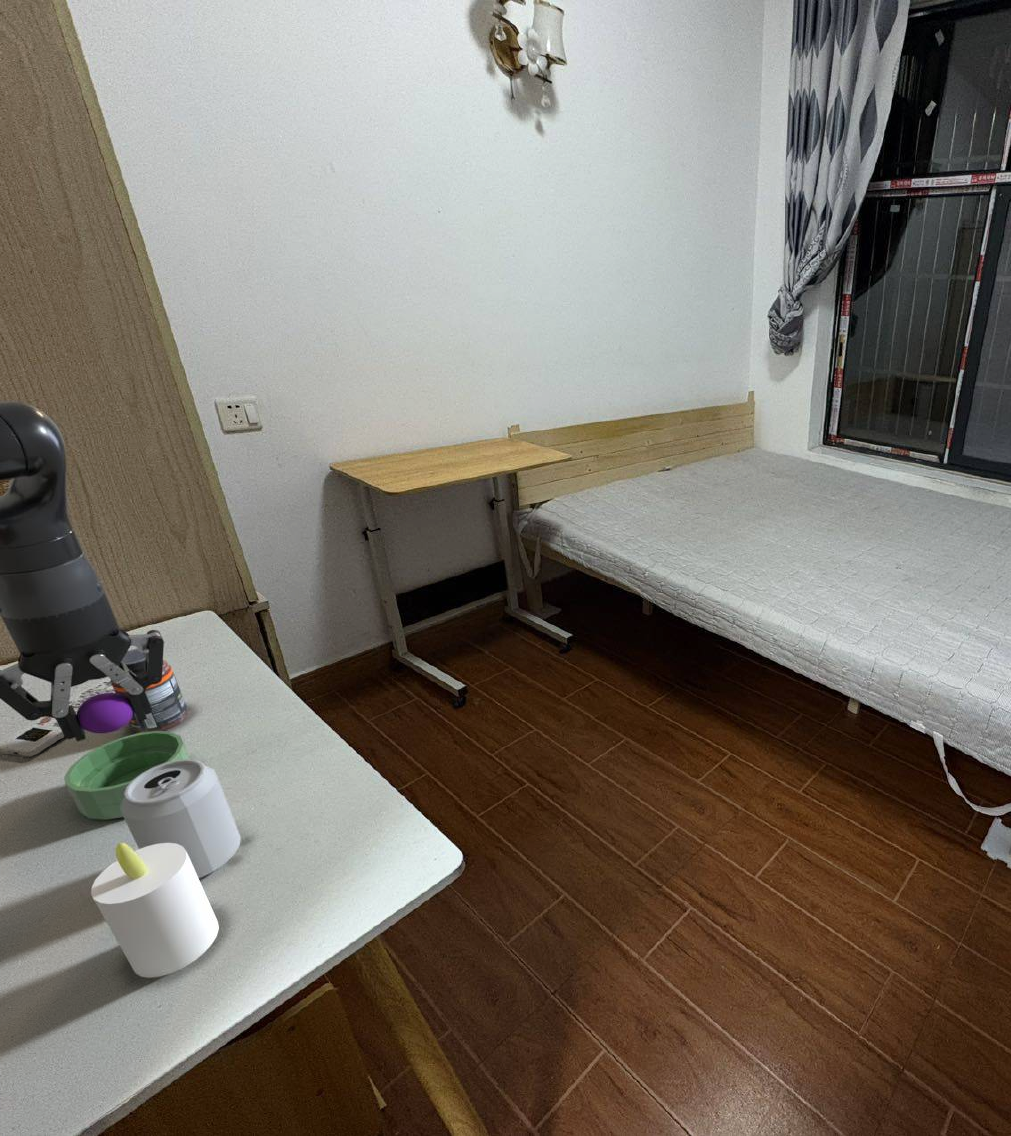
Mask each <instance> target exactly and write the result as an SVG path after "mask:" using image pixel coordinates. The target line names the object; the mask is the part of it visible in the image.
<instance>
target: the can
mask: <svg viewBox="0 0 1011 1136" xmlns="http://www.w3.org/2000/svg"><path fill="white" fill-rule="evenodd" d="M124 797H125V798H124V799H123V801H122V803H121V806H120V809H121V812H122V815H123V817H122V818H123V819H124V822H125V823H126V825H127V828H128V829H129V831H130V833H131V835H132V837H133V839H134V842H135V844H136V845H137V847H138V849H141V848H144V847H146V846H150V845H154V844H160V843H175V844H179V845H181V846H183V847H184V849H185V850H186V851H187V854H188V856H189V858H190V860H191V863H192V865H193V867H194V869H195V872H196V874H197V876H198V878H199V879H202V878H204V877H206V876H207V875H210V874H211V873H213V872H215V871H216V870H217V869H219V868H220V867H222V866H223V865H225V864H226V863H227V862H228V861H229V860H230V859H231V858H232V857H234V855H235V854H236V852H238V851H237V850H238V849H239V848H240V846H241V840H242V837H241V834H240V831H239V829H238V827H237V824H236V821H235V819H234V816H233V813H232V811H231V808H230V806H229V805H230V804H229V803H228V801H227V798H226V794H225V793H224V790H223V787H222V785H221V782H220V780H219V777H218V775H217V773H216V771H215V769H213V768H211V767H210V766H207V765H205V764H204V762H202V761H200V760H198V759H193V758H192V759H191V758H190V759H182V760H175V761H171V762H166V763H163V764H161V765H158V766H155V767H153V768H151V769H149V770H147V771H145V772H143V773H142V774H140V775H139V776H138V777H136V778H135V779H134V780H132V781H131V783H130V784H129V785H128V786H127V787H126V789H125V792H124Z"/></svg>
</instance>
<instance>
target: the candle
mask: <svg viewBox="0 0 1011 1136" xmlns="http://www.w3.org/2000/svg"><path fill="white" fill-rule="evenodd" d="M115 856H116V861H114V862H112V863H111V864H110V865H109V866H107V867H106V868H105V869H104V870H103V871H102V872H101V873H100V874H99V875H98V876H97V877H96V878H95V880H94V882H93V883H92V886H91V889H90V895H91V897H92V899H93V901H94V902H95V904H96V906H97V908H98V909H99V912H100V913H101V915H102V916H103V918H104V920H105V922H106V924H107V925H108V927H109V928H110V931H111V932H112V935H113V937H114V938H115V940H116V941H117V943H118V945H119V947H120V949H121V950H122V952H123V954H124V956H125V958H126V959H127V961H128V963H129V964H130V966H131V968H132V970H133V972H134V973H135V975H137V976H139V977H141V978H147V979H153V978H161V977H164V976H168V975H171V974H173V973H176V972H177V971H179V970H181V969H184V968H185V967H187V966H188V965H190V964H191V963H193V962H195V961H197V959H199V957H201V956H202V955H204V953H205V952H206V951H207V950H208V949H210V947H211V946H212V945H213V943H214V941H215V940H216V939H217V936H218V933H219V930H220V927H219V922H218V919H217V917H216V914H215V912H214V910H213V908H212V906H211V903H210V901H209V898H208V897H207V893H206V892H205V890H204V887H203V885H202V882H201V881H200V878H198V876H197V874H196V872H195V869H194V867H193V865H192V863H191V860H190V858H189V856H188V854H187V851H186V850H185V849H184V847H183V846H181V845H179V844H175V843H160V844H154V845H150V846H146V847H144V848H141V849H139V848H138V849H136V850H133V849H132V847H130V845H128V844H127V843H124V842H119V843H118V844H117V845H116V848H115Z"/></svg>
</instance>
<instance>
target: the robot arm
mask: <svg viewBox="0 0 1011 1136" xmlns="http://www.w3.org/2000/svg"><path fill="white" fill-rule="evenodd" d="M7 480H11V482H10V484H9V487H8V489H7V491H6V492H5V493H3V494H2V495H1V496H0V618H2V621H3V623H4V625H5V627H6V629H7V631H8V633H9V635H10V637H11V639H12V640H13V643H14V644H15V646H16V649H17V651H18V652H19V657H18V659H17V663H15V664H13V665H11V666H9V667H6V668H4V669H2V670H1V669H0V700H1V701H3V702H4V703H5V704H6V705H8V706H9V707H10V708H11V709H12V710H14V711H15V712H16V713H18V714H19V715H21V717H23V718H24V719H25V720H27V721H30V722H31V721H37V720H39V719H41V718H47V717H48V718H53V719H55V721H56V723H57V725H58V726H59V729H60V730H61V732H62V734H63V736H64V737H65V738H66V739H68V740H72V739H75V740H76V742H81V741H84V740H86V739H87V735H86V732H85V731H86V730H84V729H83V728H82V727H81V726H80V725H79V723H78V720H77V717H76V716H77V712H76V710H75V708H74V706H73V705H72V704H70V699H71V690H72V688H73V687H76V686H80V685H82V684H84V683H87V682H89V681H94V680H101V679H105V678H109V679H110V681H111V680H113V681H114V682H115V683H116V684H119V685H120V686H121V687H123V688H124V689H125V690H126V691H127V694H128V697H129V699H130V702H131V704H132V706H133V708H134V711H135V713H136V715H137V718H138V720H139V721H142V720H145V719H147V717H146V714H149V713H151V711H152V708H151V705H150V702H149V700H148V698H147V695H146V693H145V690H146V688H147V687H148V686H150V685H152V684H157V683H159V682H161V680H162V667H163V660H164V649H165V648H164V647H165V641H164V638H163V636H162V634H161V631H160V630H157V629H151V630H148V631H147V632H146V633H141V634H129V633H128V632H127V631H125V630H123V629H122V628H121V627H120V625H119V623H118V621H117V618H116V616H115V613H114V611H113V609H112V606H111V604H110V601H109V599H108V597H107V595H106V592H105V590H104V586H103V583H102V582H101V580H100V578H99V575H98V573H97V572H96V569H95V567H94V566H93V565H92V563H91V561H90V560H89V558H88V557H87V555H86V552H85V551H84V549H83V546H82V545H81V542H80V540H79V538H78V535H77V533H76V530H75V528H74V526H73V522H72V520H71V518H70V515H69V507H68V493H67V446H66V443H65V440H64V436H63V434H62V432H61V430H60V429H59V427H58V425H57V424H56V423H55V422H54V420H53V419H52V418H51V417H50V416H48V415H47V414H46V413H45V412H43V411H42V410H41V409H39V408H37V407H35V406H34V405H31V404H29V403H25V402H21V401H13V400H12V401H8V400H7V401H0V482H1V481H7ZM131 646H132V647H136V649H137V648H138V650H139V652H140V653H145V669H144V672H142V673H141V674H139V675H137V676H136V675H135V674H134V673H133V672H132V671H130V670H129V669H128V667H127V666H126V665H125V664H124V663H123V662H122V660H123V658H124V656H125V655H126V653H127V651H129V650H130V648H131ZM24 674H27V675H29V676H31V677H34V678H37V679H40V680H43V681H46V682H49V683H50V700H39V699H37V698H36V697H35V696H34V695H33V694H31V693H30V692H29V691H27V689H25V688H24V687H22V686H23V684H24V683H23V682H24V681H23V677H22V676H23V675H24Z"/></svg>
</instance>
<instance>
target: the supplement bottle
mask: <svg viewBox="0 0 1011 1136" xmlns="http://www.w3.org/2000/svg"><path fill="white" fill-rule="evenodd" d="M122 662H123V663H124V664H125V665H126V666H127V667H128V669H129V670H130V671H132V672H133V673H134V674H135V675H136V676H137V675H139V674H141V673H142V672H144V669H145V653H140V652H139V650H138V648H137V647H136V648H133V649H128V651H127V653H126V655H125V656H124V658H123V660H122ZM110 684H111V686H112V688H113V691H114V693H118V694H121V695H124V696H126V697H128V694H127V691H126V690H125V689H124V688H123V687H121V686H120V685H119V684H116V683H115V682H114V681H113V680H111V679H110ZM145 693H146V695H147V698H148V700H149V702H150V705H151V708H152V711H151V713H149V714H146V717H147V719H145V720H142V721H139V720H138V718H137V715H136V713H135V711H134V715H133V717H132V719H131V720H130V721H129V723H128V724H129V726H130V727H131V729H132V731H133V732H134V733H135V734H137V733H142V732H151V731H169V730H171V729H173V728H175V727H177V726H178V725H181V724H182V723H183V722H184V721H185V720H186V718H187V717H188V715H189V710H188V706H187V703H186V701H185V698H184V696H183V693H182V691H181V687H180V685H179V684H178V680H177V678H176V676H175V673H174V671H173V668H172V666H171V664H170V663H169V662H168V661H166V660H164V659H163V667H162V680H161V682H159V683H157V684H152V685H150V686H148V687H147V688H146V690H145ZM128 698H129V697H128Z"/></svg>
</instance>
